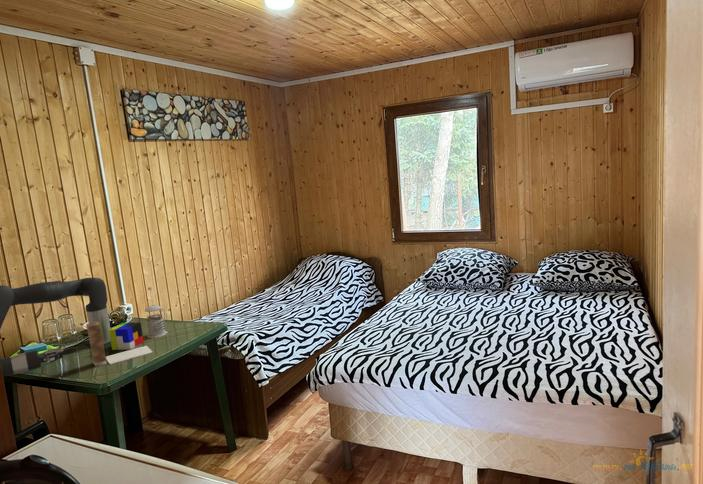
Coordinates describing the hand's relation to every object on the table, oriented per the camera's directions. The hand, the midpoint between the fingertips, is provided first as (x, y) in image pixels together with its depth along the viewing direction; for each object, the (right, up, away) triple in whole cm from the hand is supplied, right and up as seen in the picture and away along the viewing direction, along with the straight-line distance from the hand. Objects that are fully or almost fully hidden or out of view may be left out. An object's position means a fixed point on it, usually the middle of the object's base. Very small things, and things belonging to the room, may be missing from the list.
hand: (74, 349), depth 206 cm
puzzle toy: (+11, -4, +27) cm, 29 cm away
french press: (+20, -1, +41) cm, 46 cm away
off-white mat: (+18, -5, +13) cm, 23 cm away
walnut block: (+8, -7, +6) cm, 13 cm away
